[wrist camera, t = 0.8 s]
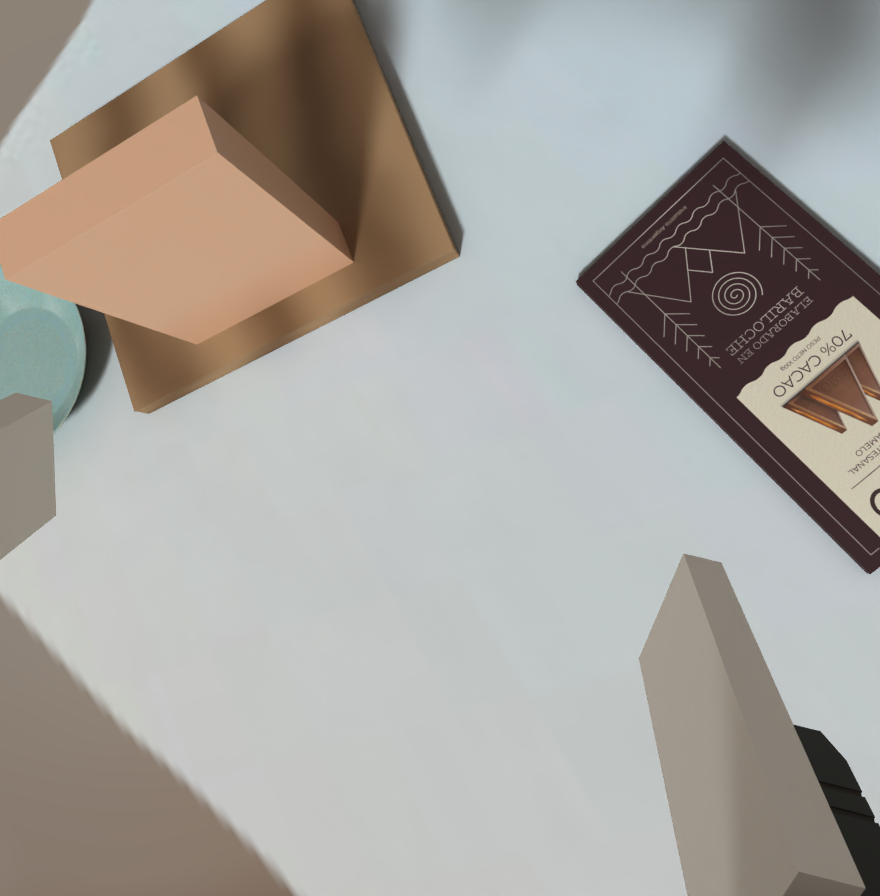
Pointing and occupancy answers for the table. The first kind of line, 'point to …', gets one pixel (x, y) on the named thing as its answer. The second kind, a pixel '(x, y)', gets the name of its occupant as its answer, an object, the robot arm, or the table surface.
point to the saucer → (41, 347)
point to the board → (300, 158)
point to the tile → (174, 230)
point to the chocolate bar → (762, 335)
